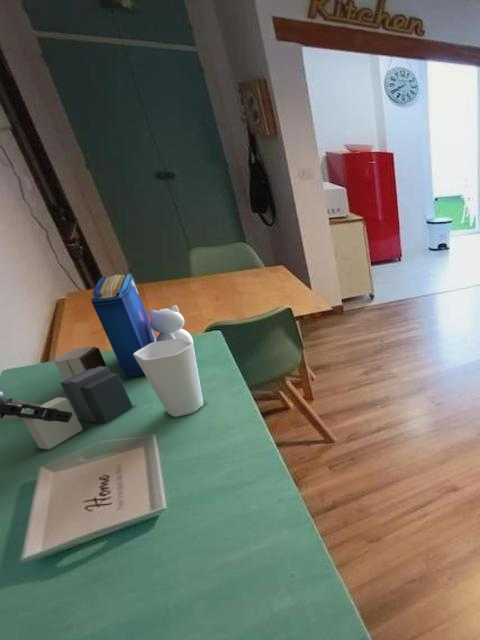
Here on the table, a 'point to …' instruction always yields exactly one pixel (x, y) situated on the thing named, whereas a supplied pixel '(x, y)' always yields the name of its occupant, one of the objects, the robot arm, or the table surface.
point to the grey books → (97, 395)
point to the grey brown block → (79, 361)
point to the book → (123, 319)
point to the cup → (172, 374)
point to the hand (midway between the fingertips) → (53, 415)
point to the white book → (54, 425)
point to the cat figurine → (169, 324)
